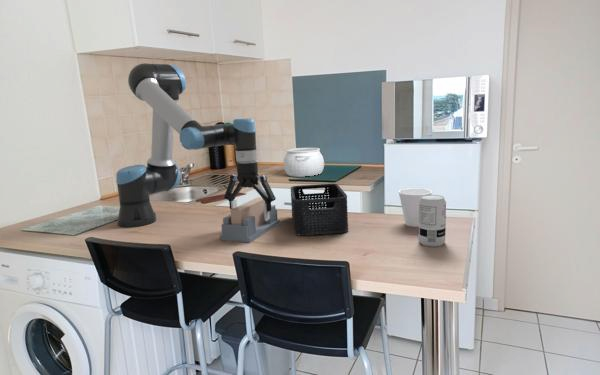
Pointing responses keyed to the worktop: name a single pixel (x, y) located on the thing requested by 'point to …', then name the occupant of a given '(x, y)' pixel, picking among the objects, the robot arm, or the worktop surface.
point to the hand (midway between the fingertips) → (250, 218)
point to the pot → (303, 162)
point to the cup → (412, 204)
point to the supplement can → (432, 220)
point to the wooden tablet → (215, 198)
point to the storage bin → (319, 210)
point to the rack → (248, 228)
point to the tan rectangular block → (249, 212)
